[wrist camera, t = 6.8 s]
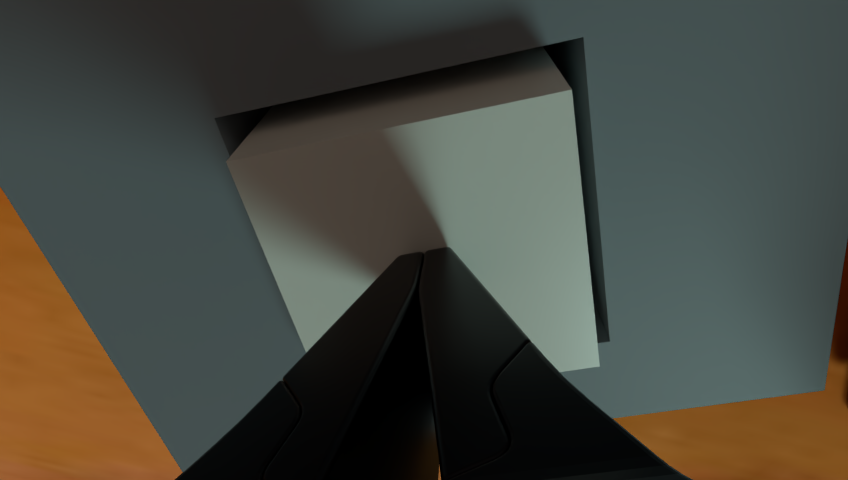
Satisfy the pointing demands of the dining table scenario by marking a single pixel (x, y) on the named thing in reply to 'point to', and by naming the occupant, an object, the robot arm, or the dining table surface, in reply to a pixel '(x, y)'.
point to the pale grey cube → (429, 194)
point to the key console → (411, 54)
